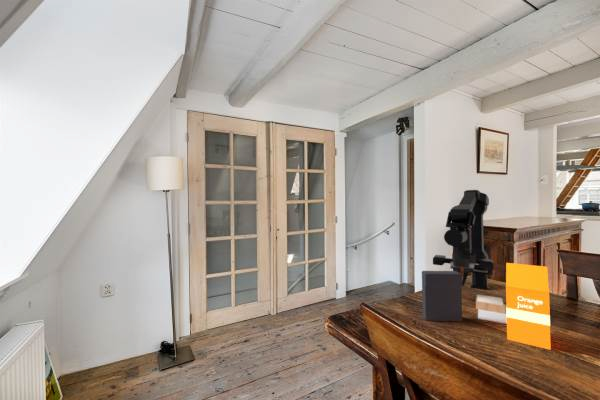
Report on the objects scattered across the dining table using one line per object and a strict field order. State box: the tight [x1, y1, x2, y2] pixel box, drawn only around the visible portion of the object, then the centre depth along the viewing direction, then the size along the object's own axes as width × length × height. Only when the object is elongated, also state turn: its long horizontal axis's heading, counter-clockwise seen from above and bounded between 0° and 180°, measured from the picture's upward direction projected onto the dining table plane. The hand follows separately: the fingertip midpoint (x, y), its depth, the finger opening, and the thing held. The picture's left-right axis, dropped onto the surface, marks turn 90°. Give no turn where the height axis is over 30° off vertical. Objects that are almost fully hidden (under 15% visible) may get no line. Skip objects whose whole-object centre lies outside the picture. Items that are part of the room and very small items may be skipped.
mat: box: [477, 303, 507, 325], centre depth 90 cm, size 18×16×1 cm
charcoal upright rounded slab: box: [421, 270, 463, 322], centre depth 88 cm, size 11×4×15 cm, turn 84°
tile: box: [475, 294, 505, 314], centre depth 95 cm, size 8×3×8 cm
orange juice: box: [505, 262, 552, 351], centre depth 74 cm, size 8×9×20 cm
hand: (462, 285), depth 100 cm, fingers closed
